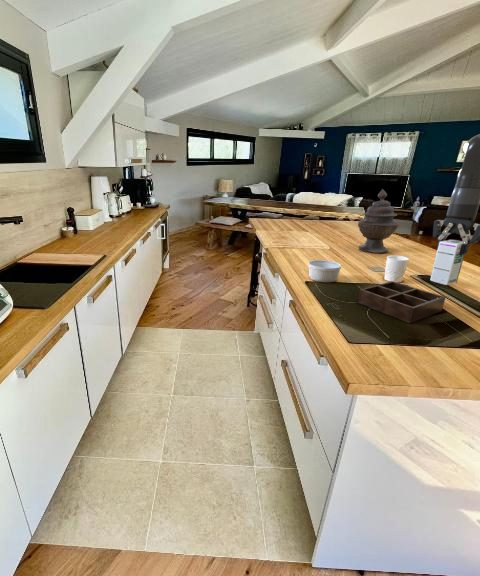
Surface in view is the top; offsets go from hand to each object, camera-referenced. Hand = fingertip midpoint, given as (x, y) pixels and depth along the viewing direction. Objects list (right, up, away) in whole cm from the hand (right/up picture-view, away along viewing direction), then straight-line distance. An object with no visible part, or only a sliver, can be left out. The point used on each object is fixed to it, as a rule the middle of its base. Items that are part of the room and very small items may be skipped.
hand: (450, 252), depth 107 cm
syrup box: (0, -10, +4) cm, 11 cm away
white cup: (-1, -9, +29) cm, 31 cm away
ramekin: (-31, -8, +32) cm, 45 cm away
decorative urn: (+18, +10, +77) cm, 80 cm away
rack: (-16, -19, +3) cm, 25 cm away
